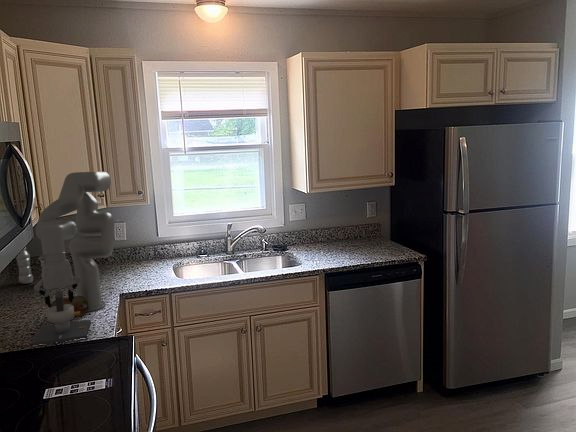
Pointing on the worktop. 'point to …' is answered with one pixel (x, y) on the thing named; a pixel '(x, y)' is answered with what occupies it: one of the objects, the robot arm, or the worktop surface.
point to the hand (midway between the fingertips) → (60, 303)
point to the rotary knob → (61, 310)
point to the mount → (62, 332)
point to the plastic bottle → (24, 267)
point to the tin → (76, 304)
